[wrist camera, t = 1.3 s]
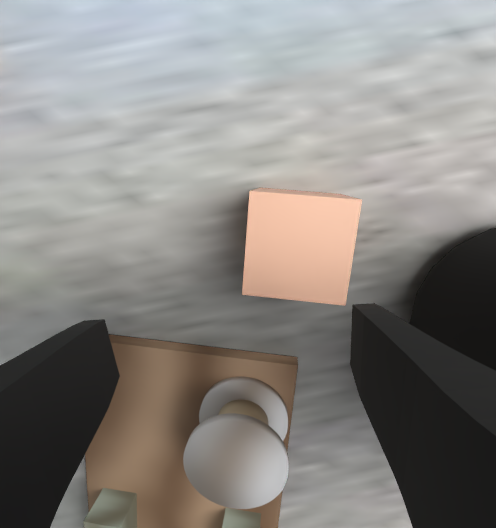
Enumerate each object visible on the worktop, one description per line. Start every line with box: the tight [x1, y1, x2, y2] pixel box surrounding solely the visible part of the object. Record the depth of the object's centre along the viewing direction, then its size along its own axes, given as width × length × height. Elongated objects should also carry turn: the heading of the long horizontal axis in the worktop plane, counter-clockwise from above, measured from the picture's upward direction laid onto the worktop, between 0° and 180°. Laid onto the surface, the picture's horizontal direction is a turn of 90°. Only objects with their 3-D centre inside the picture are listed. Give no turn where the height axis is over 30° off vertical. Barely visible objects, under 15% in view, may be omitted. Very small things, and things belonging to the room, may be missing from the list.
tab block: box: [242, 188, 362, 306], centre depth 17 cm, size 4×4×6 cm
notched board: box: [83, 334, 298, 528], centre depth 22 cm, size 14×22×5 cm, turn 176°
